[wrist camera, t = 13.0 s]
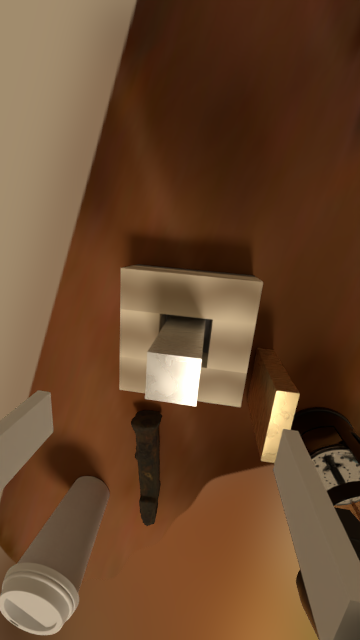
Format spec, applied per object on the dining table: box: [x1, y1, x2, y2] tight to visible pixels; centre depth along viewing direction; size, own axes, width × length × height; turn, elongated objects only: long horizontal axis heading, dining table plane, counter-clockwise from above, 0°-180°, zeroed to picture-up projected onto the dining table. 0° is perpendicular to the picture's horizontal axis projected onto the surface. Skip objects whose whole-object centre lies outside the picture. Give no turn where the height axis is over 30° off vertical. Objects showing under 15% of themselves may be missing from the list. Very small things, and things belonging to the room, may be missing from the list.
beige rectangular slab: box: [247, 347, 300, 463], centre depth 28 cm, size 8×2×10 cm, turn 175°
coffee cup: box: [0, 476, 109, 635], centre depth 35 cm, size 10×10×15 cm
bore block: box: [119, 264, 263, 407], centre depth 29 cm, size 14×14×6 cm
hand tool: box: [131, 410, 162, 526], centre depth 37 cm, size 19×4×5 cm, turn 178°
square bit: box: [145, 315, 206, 406], centre depth 24 cm, size 4×4×12 cm
